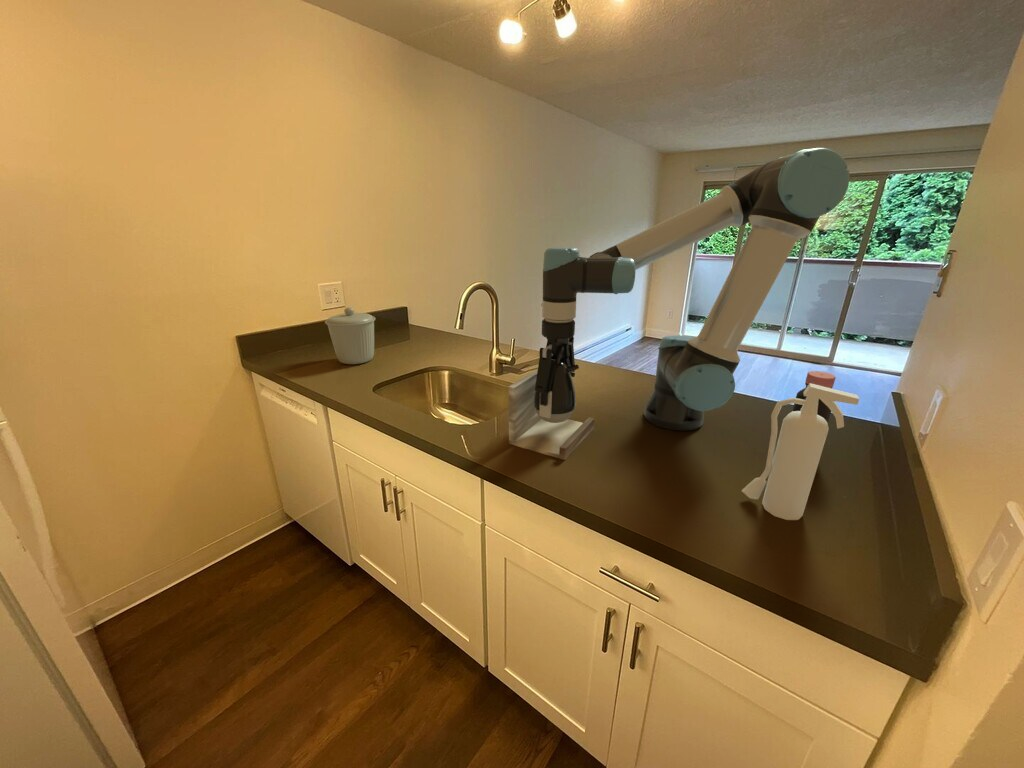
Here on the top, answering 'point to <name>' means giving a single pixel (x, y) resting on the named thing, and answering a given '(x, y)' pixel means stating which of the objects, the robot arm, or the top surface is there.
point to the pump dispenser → (560, 394)
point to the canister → (352, 336)
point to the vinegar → (821, 380)
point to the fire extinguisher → (796, 452)
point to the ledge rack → (541, 424)
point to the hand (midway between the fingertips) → (555, 408)
